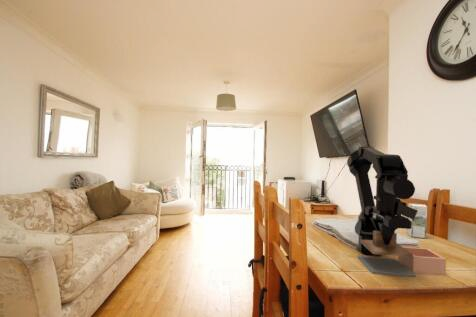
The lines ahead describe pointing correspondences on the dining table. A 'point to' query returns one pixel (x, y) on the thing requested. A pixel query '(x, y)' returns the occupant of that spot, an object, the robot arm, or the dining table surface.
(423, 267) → the pink open tray
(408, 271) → the rubber mat
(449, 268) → the dining table surface
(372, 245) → the walnut lid
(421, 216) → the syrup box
